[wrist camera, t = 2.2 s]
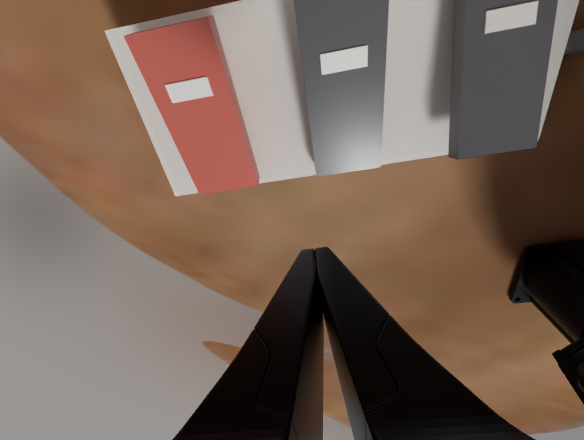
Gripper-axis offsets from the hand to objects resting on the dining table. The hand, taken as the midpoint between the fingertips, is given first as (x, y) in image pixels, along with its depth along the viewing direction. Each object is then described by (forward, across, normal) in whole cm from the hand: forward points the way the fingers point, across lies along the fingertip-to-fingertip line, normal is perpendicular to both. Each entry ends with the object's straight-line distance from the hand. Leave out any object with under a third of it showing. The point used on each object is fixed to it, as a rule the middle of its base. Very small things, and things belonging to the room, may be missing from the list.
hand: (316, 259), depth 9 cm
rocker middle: (+8, -2, -4) cm, 9 cm away
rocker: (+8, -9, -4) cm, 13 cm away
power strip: (+12, -5, -4) cm, 14 cm away
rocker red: (+8, +5, -4) cm, 10 cm away
